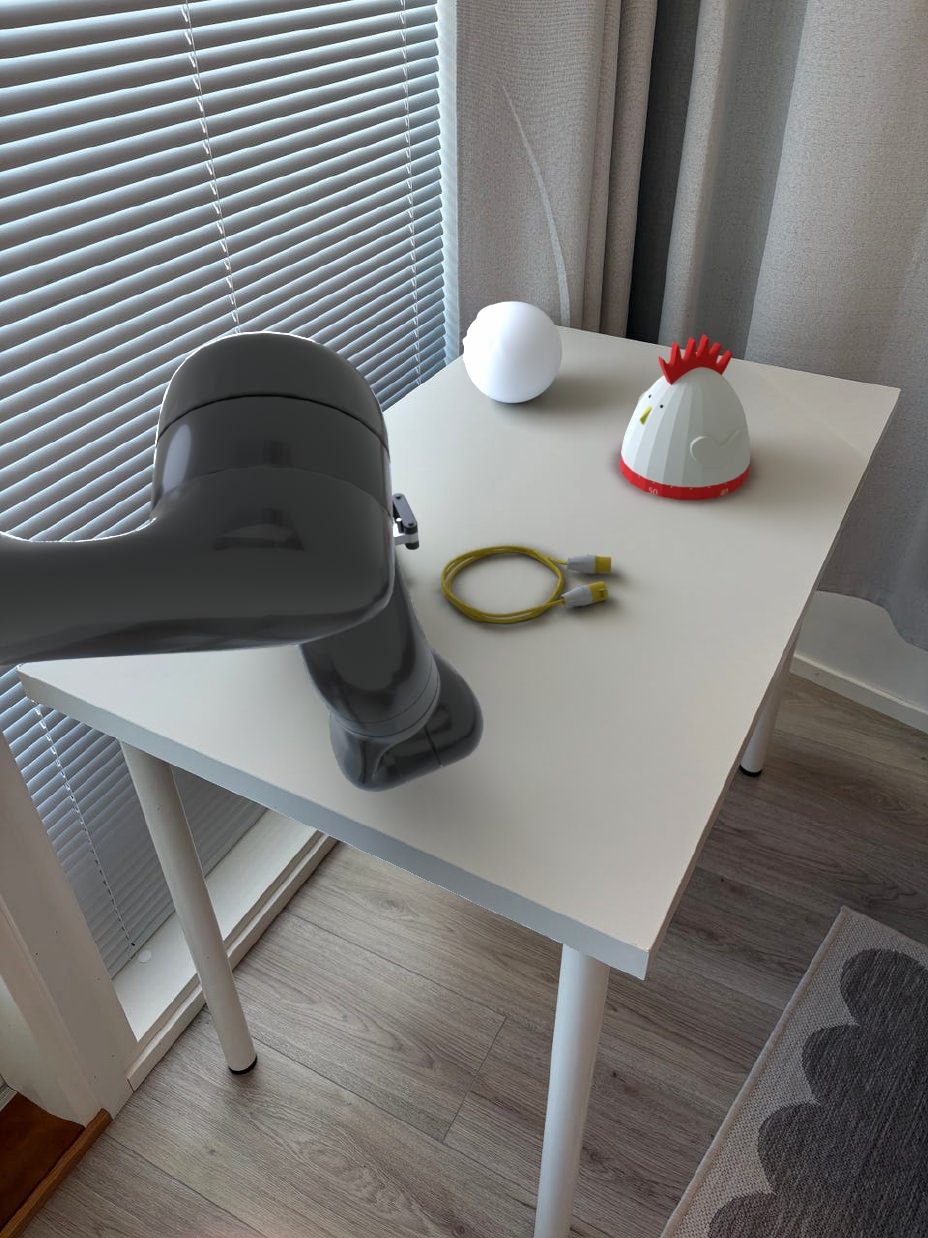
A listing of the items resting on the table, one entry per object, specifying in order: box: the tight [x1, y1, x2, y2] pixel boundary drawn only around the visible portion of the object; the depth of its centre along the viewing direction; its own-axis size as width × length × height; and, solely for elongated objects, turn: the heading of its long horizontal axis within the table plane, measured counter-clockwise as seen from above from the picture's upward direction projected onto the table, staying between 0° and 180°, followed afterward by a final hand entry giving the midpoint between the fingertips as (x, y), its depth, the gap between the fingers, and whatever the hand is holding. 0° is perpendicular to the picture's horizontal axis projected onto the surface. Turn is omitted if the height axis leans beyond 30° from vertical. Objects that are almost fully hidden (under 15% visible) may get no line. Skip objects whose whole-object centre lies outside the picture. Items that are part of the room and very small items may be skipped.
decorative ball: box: [462, 300, 563, 404], centre depth 116 cm, size 12×12×12 cm
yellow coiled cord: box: [440, 545, 612, 624], centre depth 89 cm, size 12×16×2 cm
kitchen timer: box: [619, 334, 751, 501], centre depth 100 cm, size 14×14×15 cm
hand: (323, 493), depth 91 cm, fingers open, 7 cm apart
